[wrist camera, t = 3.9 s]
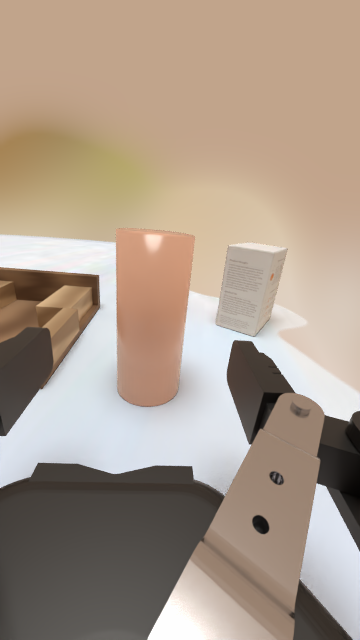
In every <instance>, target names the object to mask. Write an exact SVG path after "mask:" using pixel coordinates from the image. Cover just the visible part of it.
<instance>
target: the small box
mask: <svg viewBox="0 0 360 640" xmlns="http://www.w3.org/2000/svg"><path fill="white" fill-rule="evenodd" d="M287 250H288V249H287V248H283V247H276V246H270V245H264V244H257V243H249V242H248V243H241V244H235V245H229V246H228V250H227V257H226V263H225V269H224V275H223V282H222V288H221V295H220V300H219V307H218V313H217V319H216V325H219V326H222V327H225V328H228V329H232V330H235V331H238V332H241V333H244V334H247V335H250V336H255V335H256V334H257V333H258V332H259V330H260V329H261V328H262V327H263V326H264V324H265V323H266V322H267V321H268V320H269V318H270V315H271V312H272V308H273V304H274V300H275V296H276V293H277V289H278V285H279V281H280V277H281V273H282V269H283V265H284V261H285V257H286V253H287Z"/></svg>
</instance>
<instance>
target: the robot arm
mask: <svg viewBox="0 0 360 640" xmlns="http://www.w3.org/2000/svg"><path fill="white" fill-rule="evenodd" d="M53 363H54V360H53V351H52V343H51V335H50V331H49V329H48V328H41V327H26V328H25V329H24V330H23V331H21V332H20V333H19V334H18V335H16V336H15V337H12V338H10V339H8V340H5V341H3V342H1V343H0V436H6V435H7V433H8V432H9V431H10V429H11V428H12V426H13V425H14V424H15V422H16V421H17V420H18V418H19V417H20V415H21V414H22V413H23V411H24V410H25V409H26V407H27V406H28V404H29V403H30V402H31V400H32V399H33V397H34V396H35V395H36V393H37V392H38V391H39V389H40V388H41V386H42V385H43V384H44V382H45V381H46V379H47V378H48V377H49V375H50V374H51V372H52V369H53ZM227 382H228V386H229V389H230V391H231V394H232V397H233V400H234V403H235V406H236V408H237V411H238V414H239V417H240V420H241V423H242V426H243V428H244V431H245V434H246V437H247V440H248V443H249V444H252V445H251V447H250V449H249V451H248V453H247V455H246V457H245V459H244V461H243V463H242V465H241V467H240V468H239V470H238V472H237V474H236V476H235V478H234V480H233V482H232V484H231V486H230V488H229V490H228V492H227V494H226V496H224V495H223V494H221V493H220V492H219V491H217V490H216V489H214V488H212V487H211V486H209V485H207V484H205V483H202V482H200V481H197V480H194V479H193V469H192V466H152V467H147V468H143V469H138V470H134V471H130V472H125V473H121V474H111V473H107V472H104V471H100V470H97V469H93V468H90V467H86V466H83V465H80V464H62V463H38V464H37V466H36V468H35V470H34V472H33V474H32V476H31V477H29V478H25V479H22V480H19V481H16V482H13V483H11V484H9V485H6V486H4V487H2V488H0V640H353V639H352V638H351V637H350V636H349V635H348V634H347V632H346V631H345V630H344V629H343V628H342V627H341V626H340V625H339V623H338V622H337V621H336V620H335V619H334V618H333V617H332V615H331V614H330V613H329V612H328V611H327V610H326V609H325V607H324V606H323V605H322V604H321V603H320V602H319V601H318V599H317V598H316V597H315V596H314V595H313V594H312V593H311V592H310V590H309V589H308V588H307V587H306V586H305V585H304V584H303V582H302V581H301V580H300V579H299V578H300V572H301V567H302V561H303V556H304V550H305V544H306V539H307V533H308V528H309V522H310V516H311V511H312V505H313V500H314V494H315V488H316V483H318V484H321V485H324V486H326V487H327V489H328V491H329V493H330V495H331V497H332V499H333V501H334V503H335V504H336V506H337V508H338V510H339V512H340V514H341V516H342V518H343V520H344V522H345V524H346V526H347V528H348V529H349V531H350V533H351V535H352V537H353V539H354V541H355V543H356V545H357V547H358V549H359V551H360V411H357V412H355V413H354V414H353V415H352V417H351V419H350V421H349V422H348V421H344V420H340V419H337V418H333V417H329V416H326V415H324V412H323V410H322V409H321V407H320V406H319V405H318V404H317V403H315V402H314V401H313V400H311V399H309V398H307V397H305V396H303V395H300V394H296V393H295V392H294V390H293V389H292V387H291V386H290V385H289V383H288V382H287V380H286V379H285V377H284V376H283V375H281V372H280V370H279V369H278V368H277V366H276V365H275V363H274V362H273V360H272V359H271V358H269V357H268V356H266V355H265V354H264V353H259V352H258V350H257V349H256V347H255V346H254V344H253V343H252V342H251V341H238V340H235V341H234V342H233V344H232V349H231V354H230V359H229V364H228V369H227Z"/></svg>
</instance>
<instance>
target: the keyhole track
mask: <svg viewBox="0 0 360 640" xmlns="http://www.w3.org/2000/svg"><path fill="white" fill-rule="evenodd" d="M99 308H100V292H99V275H91V274H78V273H65V272H53V271H40V270H27V269H15V268H2V267H0V343H1V342H3V341H5V340H8V339H10V338H12V337H15V336H16V335H18V334H19V333H20V332H21V331H23V330H24V329H25V328H26V327H41V328H48V329H49V331H50V335H51V343H52V351H53V360H54V363H53V369H52V372H51V374H50V375H49V377H48V378H47V379H46V381H45V382H44V384H43V385H42V386H41V388H43V387H44V385H45V384H46V383H47V381H48V380H49V378H50V377H51V376H52V374H53V373H54V371H55V370H56V368H57V367H58V366H59V364H60V363H61V361H62V360H63V359H64V357H65V356H66V354H67V353H68V351H69V350H70V349H71V347H72V346H73V344H74V343H75V342H76V340H77V339H78V337H79V336H80V335H81V333H82V332H83V330H84V329H85V327H86V326H87V325H88V323H89V322H90V320H91V319H92V318H93V316H94V315H95V313H96V312H97V310H98V309H99Z"/></svg>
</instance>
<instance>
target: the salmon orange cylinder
mask: <svg viewBox="0 0 360 640" xmlns="http://www.w3.org/2000/svg"><path fill="white" fill-rule="evenodd" d="M194 241H195V236H193V235H189V234H184V233H178V232H170V231H161V230H150V229H134V228H119V229H116V287H117V390H118V393H119V395H120V396H121V397H122V398H123V399H124V400H126V401H127V402H129V403H131V404H134V405H138V406H145V407H151V406H158V405H161V404H164V403H167V402H168V401H170V400H171V399H173V398H174V397H175V395H176V394H177V392H178V386H179V377H180V368H181V359H182V350H183V341H184V332H185V323H186V314H187V305H188V296H189V286H190V278H191V269H192V260H193V251H194Z"/></svg>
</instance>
